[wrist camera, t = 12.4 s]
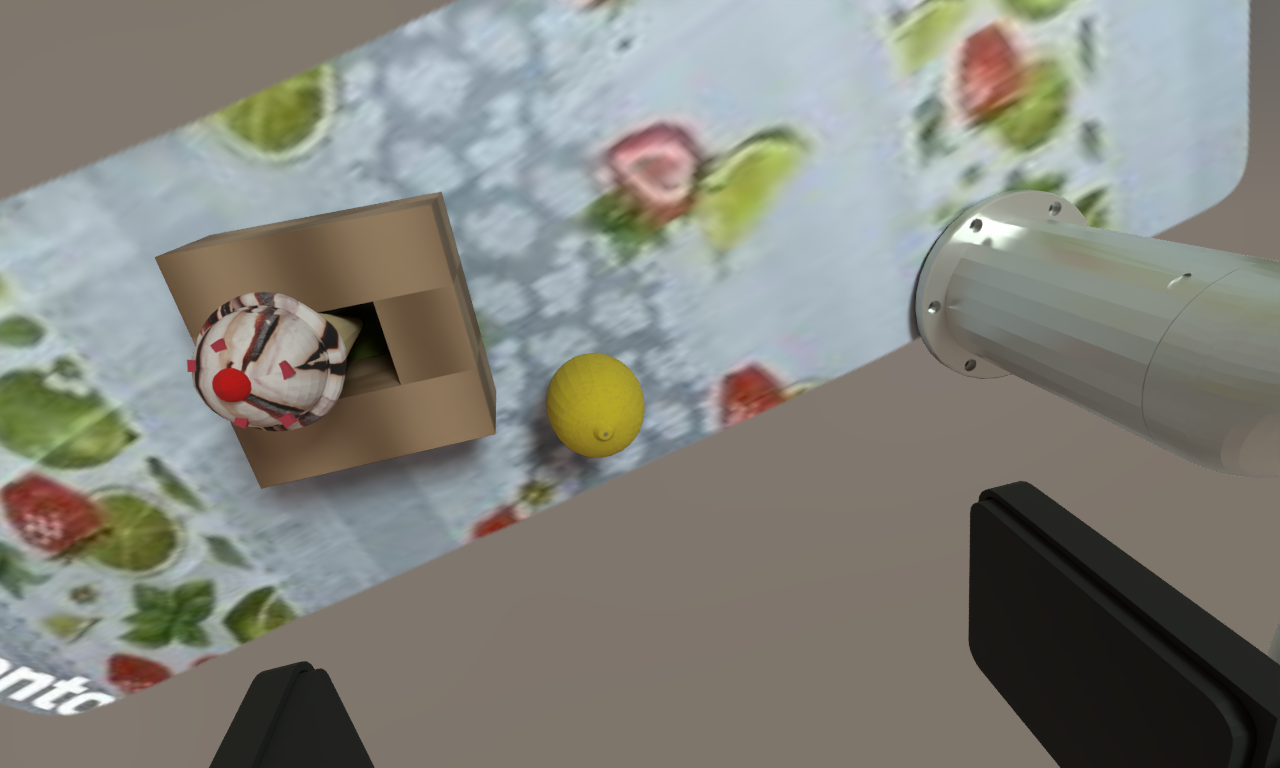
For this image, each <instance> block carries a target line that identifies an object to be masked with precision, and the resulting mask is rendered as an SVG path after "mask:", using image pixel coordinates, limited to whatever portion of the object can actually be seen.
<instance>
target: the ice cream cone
mask: <svg viewBox="0 0 1280 768" xmlns="http://www.w3.org/2000/svg"><path fill="white" fill-rule="evenodd" d="M365 321H366V319H364V318H355V317H347V316H338V315H330V314H321V313H317V312H315V311H314V310H312V309H310V308H309V307H307V306H306V305H304V304H302V303H301V302H299V301H297V300H295V299H293V298H291V297H288V296H286V295H283V294H279V293H269V292H257V293H248V294H245V295H241V296H238V297H235V298H234V299H232V300H230V301H228V302H226V303H225V304H223V305H222V306H220V307H219V308H218V309H217V310H216V311H215V312H213V313H212V314H211V315H210V316H209V318H208V319H207V320H206V322H205V323H204V325H203V326H202V328H201V331H200V333H199V336H198V338H197V344H196V347H195V350H194V353H193V359H192V360H187V364H188V372H192V378H193V384H194V387H195V389H196V391H197V392H198V394H199V396H200V397H201V398H202V400H203V401H204V402H205V404H206V405H207V406H208V407H209V408H211V409H212V410H213V411H214V412H215V413H217V414H218V415H220V416H221V417H223V418H225V419H227V420H229V421H232V422H234V424H233V425H236V426H239V427H242V428H246V427H254V428H257V429H261V430H264V431H288V430H294V429H298V428H301V427H304V426H308V425H310V424H312V423H314V422H316V421H318V420H320V419H321V418H322V417H324V416H325V415H326V414H327V413H328V412H329V411H330V410H331V409H332V408H333V406H334V405H335V404H336V402H337V401H338V398H339V396H340V394H341V391H342V388H343V383H344V378H345V370H346V363H347V359H346V357H347V355H348V354H349V352H350V350H351V348H352V346H353V344H354V342H355V340H356V338H357V336H358V335H359V333H360V331H361V329H362V327H363V325H364V323H365Z"/></svg>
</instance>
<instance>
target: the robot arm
mask: <svg viewBox="0 0 1280 768" xmlns="http://www.w3.org/2000/svg"><path fill="white" fill-rule="evenodd" d="M915 311H916V318H917V325H918V329H919V332H920V335H921V337H922V340H923V342H924V344H925V345H926V347H927V348H928V350H929V351H930V353H931V354H932V355H933V356H934V357H935V358H936V359H937V360H938V361H939V362H940V363H942V364H943V365H945V366H947V367H948V368H950V369H952V370H953V371H955V372H958V373H960V374H962V375H965V376H968V377H975V378H981V379H985V378H999V377H1003V376H1007V375H1011V374H1014V375H1016V376H1018V377H1020V378H1022V379H1024V380H1026V381H1028V382H1030V383H1032V384H1034V385H1036V386H1038V387H1040V388H1042V389H1044V390H1046V391H1048V392H1050V393H1052V394H1054V395H1056V396H1058V397H1060V398H1062V399H1064V400H1066V401H1068V402H1070V403H1072V404H1074V405H1076V406H1078V407H1080V408H1082V409H1084V410H1086V411H1088V412H1090V413H1092V414H1094V415H1096V416H1098V417H1100V418H1102V419H1104V420H1106V421H1108V422H1110V423H1112V424H1114V425H1116V426H1118V427H1120V428H1122V429H1124V430H1126V431H1128V432H1130V433H1132V434H1134V435H1136V436H1138V437H1140V438H1142V439H1144V440H1146V441H1149V442H1150V443H1153V444H1154V445H1156V446H1158V447H1160V448H1162V449H1165V450H1167V451H1169V452H1171V453H1173V454H1175V455H1177V456H1179V457H1181V458H1183V459H1185V460H1187V461H1189V462H1191V463H1193V464H1196V465H1198V466H1201V467H1204V468H1206V469H1209V470H1212V471H1216V472H1220V473H1223V474H1228V475H1235V476H1241V477H1251V478H1279V477H1280V261H1274V260H1269V259H1263V258H1258V257H1253V256H1247V255H1242V254H1236V253H1230V252H1225V251H1220V250H1214V249H1208V248H1203V247H1198V246H1192V245H1187V244H1181V243H1176V242H1170V241H1165V240H1159V239H1154V238H1149V237H1143V236H1138V235H1132V234H1127V233H1121V232H1116V231H1110V230H1105V229H1099V228H1094V227H1089V225H1088V223H1087V221H1086V219H1085V218H1084V216H1083V215H1082V214H1081V212H1080V211H1079V210H1078V209H1077V207H1075V206H1074V205H1073V204H1071V203H1070V202H1069V201H1067V200H1066V199H1065V198H1063V197H1060V196H1058V195H1055V194H1052V193H1050V192H1044V191H1038V190H1011V191H1007V192H1002V193H998V194H996V195H993V196H991V197H989V198H986V199H984V200H982V201H980V202H978V203H977V204H975V205H974V206H972V207H971V208H969V209H968V210H966V211H965V212H964V213H963V214H961V215H960V216H959V217H958V218H957V219H956V220H955V221H954V222H953V223H951V224H950V226H949V227H948V228H947V229H946V230H945V232H944V233H943V234H942V235H941V237H940V238H939V239H938V240H937V242H936V244H935V245H934V247H933V249H932V251H931V252H930V254H929V256H928V257H927V260H926V262H925V265H924V267H923V270H922V272H921V275H920V279H919V284H918V288H917V292H916V309H915ZM969 647H970V650H971V653H972V656H973V658H974V660H975V662H976V664H977V665H978V667H979V668H980V669H981V671H982V672H983V673H984V674H985V676H986V677H987V678H988V679H989V681H990V682H991V683H992V684H993V685H994V687H995V688H996V689H997V690H998V692H999V693H1000V694H1001V695H1002V697H1003V698H1004V699H1005V700H1006V701H1007V703H1008V704H1009V705H1010V706H1011V708H1013V710H1014V711H1015V712H1016V714H1017V715H1018V716H1019V717H1020V718H1021V720H1022V721H1023V722H1024V723H1025V725H1026V726H1027V727H1028V728H1029V729H1030V731H1031V732H1032V733H1033V734H1034V736H1035V737H1036V738H1037V739H1038V741H1039V742H1040V743H1041V744H1042V745H1043V747H1044V748H1045V749H1046V750H1047V752H1048V753H1049V754H1050V755H1051V757H1052V758H1053V759H1054V760H1055V761H1056V762H1057V764H1058V765H1059V766H1060V768H1280V623H1279V624H1278V627H1277V629H1276V631H1275V633H1274V636H1273V638H1272V640H1271V643H1270V647H1269V650H1268V656H1267V655H1266V654H1264V653H1263V652H1261V651H1260V650H1259V649H1257V648H1256V647H1254V646H1253V645H1252V644H1250V643H1249V642H1248V641H1246V640H1245V639H1243V638H1242V637H1241V636H1239V635H1238V634H1236V633H1235V632H1234V631H1233V630H1231V629H1230V628H1228V627H1227V626H1226V625H1224V624H1223V623H1221V622H1220V621H1219V620H1217V619H1216V618H1215V617H1213V616H1212V615H1211V614H1209V613H1208V612H1206V611H1205V610H1203V609H1202V608H1201V607H1199V606H1198V605H1197V604H1195V603H1194V602H1193V601H1191V600H1190V599H1189V598H1187V597H1186V596H1184V595H1183V594H1182V593H1180V592H1179V591H1177V590H1176V589H1175V588H1173V587H1172V586H1171V585H1169V584H1168V583H1166V582H1165V581H1164V580H1162V579H1161V578H1160V577H1158V576H1157V575H1155V574H1154V573H1153V572H1151V571H1150V570H1149V569H1147V568H1146V567H1144V566H1143V565H1142V564H1140V563H1139V562H1138V561H1136V560H1135V559H1133V558H1132V557H1131V556H1129V555H1128V554H1127V553H1125V552H1124V551H1122V550H1121V549H1120V548H1118V547H1117V546H1116V545H1114V544H1113V543H1111V542H1110V541H1109V540H1107V539H1106V538H1105V537H1103V536H1102V535H1100V534H1099V533H1098V532H1096V531H1095V530H1094V529H1092V528H1091V527H1089V526H1088V525H1087V524H1085V523H1084V522H1083V521H1081V520H1080V519H1078V518H1077V517H1076V516H1074V515H1073V514H1071V513H1070V512H1069V511H1067V510H1066V509H1065V508H1063V507H1062V506H1061V505H1059V504H1058V503H1056V502H1055V501H1054V500H1052V499H1051V498H1049V497H1048V496H1047V495H1045V494H1044V493H1043V492H1041V491H1040V490H1039V489H1037V488H1036V487H1034V486H1033V485H1031V484H1029V483H1028V482H1024V481H1019V482H1015V483H1011V484H1007V485H1003V486H999V487H995V488H991V489H987V490H985V491H983V492H982V493H981V494H980V496H979V502H977V503H975V504H973V505H972V507H971V512H970V576H969ZM209 768H374V766H373V764H372V762H371V760H370V758H369V755H368V753H367V751H366V749H365V748H364V745H363V743H362V741H361V739H360V737H359V735H358V733H357V731H356V729H355V727H354V725H353V723H352V721H351V719H350V717H349V715H348V713H347V711H346V709H345V707H344V705H343V703H342V701H341V699H340V697H339V695H338V693H337V691H336V689H335V687H334V685H333V683H332V681H331V679H330V677H329V675H328V674H327V672H326V671H325V670H323V669H316V670H315V669H314V668H313V666H312V665H311V664H310V663H308V662H307V661H306V662H298V663H294V664H290V665H286V666H282V667H278V668H274V669H271V670H266V671H263V672H261V673H259V674H258V675H257V676H256V677H255V679H254V680H253V682H252V684H251V686H250V688H249V689H248V691H247V694H246V695H245V698H244V699H243V701H242V703H241V705H240V707H239V709H238V711H237V713H236V715H235V718H234V719H233V721H232V723H231V725H230V727H229V729H228V731H227V733H226V735H225V737H224V739H223V741H222V743H221V745H220V747H219V749H218V751H217V753H216V755H215V757H214V759H213V761H212V763H211V765H210V767H209Z"/></svg>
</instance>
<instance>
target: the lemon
mask: <svg viewBox="0 0 1280 768" xmlns="http://www.w3.org/2000/svg"><path fill="white" fill-rule="evenodd" d="M546 408H547V414H548V417H549V421H550V424H551V426H552V428H553V430H554V431H555V433H556V435H557V436H558V438H559V439H560V440H561V441H562V442H563V443H564V444H565V445H566V446H567V447H568V448H570V449H571V450H573V451H575V452H577V453H579V454H581V455H584V456H588V457H597V458H602V457H607V456H612V455H614V454H616V453H618V452H621V451H622V450H624V449H625V448H626V447H628V446H629V445H630V444H631V443H632V441H633V440H634V439H635V438H636V436H637V435H638V433H639V430H640V428H641V426H642V423H643V418H644V412H645V408H644V396H643V393H642V390H641V387H640V384H639V381H638V380H637V378H636V377H635V375H634V374H633V373H632V371H631V370H630V369H629V368H628V367H627V366H626V365H624V364H623V363H622V362H621V361H619V360H617V359H615V358H613V357H611V356H609V355H604V354H599V353H590V354H583V355H580V356H577V357H574V358H572V359H571V360H569V361H567V362H566V363H564V364H563V365H562V366H561V367H560V368H559V369H558V370H557V372H556V373H555V375H554V377H553V378H552V380H551V382H550V385H549V388H548V392H547V403H546Z"/></svg>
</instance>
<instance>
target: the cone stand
mask: <svg viewBox="0 0 1280 768" xmlns="http://www.w3.org/2000/svg"><path fill="white" fill-rule="evenodd" d="M155 259H156V261H157V263H158V266H159V268H160V270H161V272H162V274H163V276H164V279H165V281H166V283H167V285H168V287H169V290H170V292H171V294H172V296H173V298H174V300H175V303H176V305H177V307H178V309H179V311H180V313H181V316H182V318H183V320H184V322H185V324H186V326H187V329H188V331H189V333H190V335H191V337H192V339H193V342H194V344H195V346H196V344H197V338H198V336H199V333H200V331H201V328H202V326H203V325H204V323H205V322H206V320H207V319H208V318H209V316H210V315H211V314H212V313H213V312H215V311H216V310H217V309H218V308H219V307H220V306H222V305H223V304H225V303H226V302H228V301H230V300H232V299H234V298H235V297H238V296H241V295H245V294H248V293H257V292H269V293H279V294H283V295H286V296H288V297H291V298H293V299H295V300H297V301H299V302H301V303H302V304H304V305H306V306H307V307H309V308H310V309H312V310H314V311H315V312H317V313H319V312H324V311H328V310H333V309H338V308H343V307H348V306H353V305H358V304H363V303H368V302H372V301H373V303H374V306H375V309H376V312H377V315H378V318H379V321H380V324H381V327H382V330H383V333H384V336H385V339H386V341H387V344H388V347H389V350H390V353H387V354H383V355H378V356H373V357H369V358H364V359H359V360H355V361H350V362H347V363H346V370H345V378H344V383H343V388H342V391H341V394H340V396H339V398H338V401H337V402H336V404H335V405H334V406H333V408H332V409H331V410H330V411H329V412H328V413H327V414H326V415H325V416H324V417H322V418H321V419H320V420H318V421H316V422H314V423H312V424H310V425H308V426H304V427H301V428H298V429H294V430H288V431H264V430H261V429H257V428H254V427H246V428H242V427H239V426H236V425H233V424H234V422H232V421H230V422H231V424H232V426H233V428H234V431H235V433H236V435H237V437H238V439H239V441H240V444H241V446H242V448H243V450H244V452H245V454H246V457H247V459H248V461H249V463H250V465H251V467H252V470H253V472H254V474H255V476H256V478H257V480H258V483H259V485H260V487H261V488H265V487H270V486H274V485H278V484H283V483H287V482H291V481H296V480H300V479H304V478H309V477H313V476H317V475H321V474H326V473H330V472H334V471H339V470H343V469H347V468H352V467H356V466H360V465H365V464H369V463H373V462H377V461H382V460H386V459H390V458H395V457H399V456H403V455H408V454H412V453H416V452H421V451H425V450H429V449H433V448H438V447H442V446H446V445H451V444H455V443H459V442H464V441H468V440H472V439H477V438H481V437H485V436H489V435H494V434H495V430H496V389H495V385H494V382H493V378H492V374H491V371H490V367H489V363H488V360H487V356H486V352H485V349H484V345H483V341H482V338H481V334H480V331H479V327H478V323H477V320H476V316H475V312H474V309H473V305H472V301H471V298H470V294H469V290H468V287H467V283H466V279H465V276H464V272H463V269H462V265H461V261H460V258H459V254H458V250H457V247H456V243H455V239H454V236H453V232H452V228H451V225H450V221H449V217H448V214H447V210H446V207H445V203H444V199H443V196H442V192H438V193H433V194H427V195H422V196H417V197H411V198H406V199H401V200H395V201H390V202H385V203H379V204H374V205H369V206H364V207H358V208H353V209H348V210H342V211H337V212H332V213H326V214H321V215H316V216H310V217H305V218H300V219H294V220H289V221H284V222H278V223H273V224H268V225H262V226H257V227H252V228H247V229H241V230H236V231H231V232H225V233H220V234H215V235H210V236H207V237H205V238H202V239H200V240H197V241H195V242H192V243H190V244H187V245H185V246H182V247H180V248H177V249H174V250H172V251H169V252H167V253H164V254H162V255H159V256H157V257H155Z"/></svg>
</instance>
